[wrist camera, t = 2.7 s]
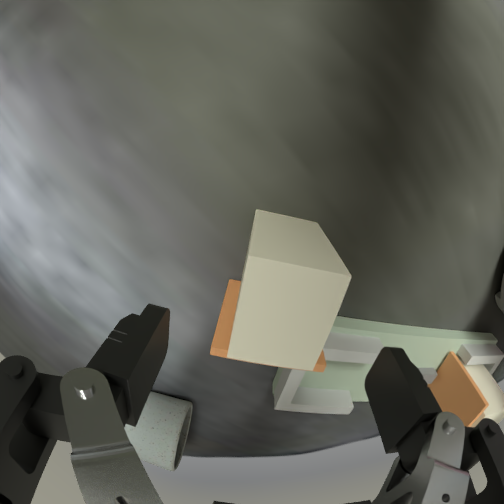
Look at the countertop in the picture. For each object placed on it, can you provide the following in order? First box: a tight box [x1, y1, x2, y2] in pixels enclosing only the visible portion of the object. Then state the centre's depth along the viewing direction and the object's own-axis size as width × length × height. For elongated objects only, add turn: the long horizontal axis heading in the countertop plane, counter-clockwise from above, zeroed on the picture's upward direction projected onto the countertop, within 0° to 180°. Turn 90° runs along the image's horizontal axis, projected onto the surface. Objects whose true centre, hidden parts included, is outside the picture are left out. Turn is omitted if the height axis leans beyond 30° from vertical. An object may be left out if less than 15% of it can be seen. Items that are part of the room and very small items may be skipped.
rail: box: [273, 316, 504, 427], centre depth 17 cm, size 8×23×10 cm, turn 79°
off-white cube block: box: [210, 209, 352, 372], centre depth 15 cm, size 6×6×8 cm
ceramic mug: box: [124, 391, 193, 471], centre depth 22 cm, size 11×8×8 cm
